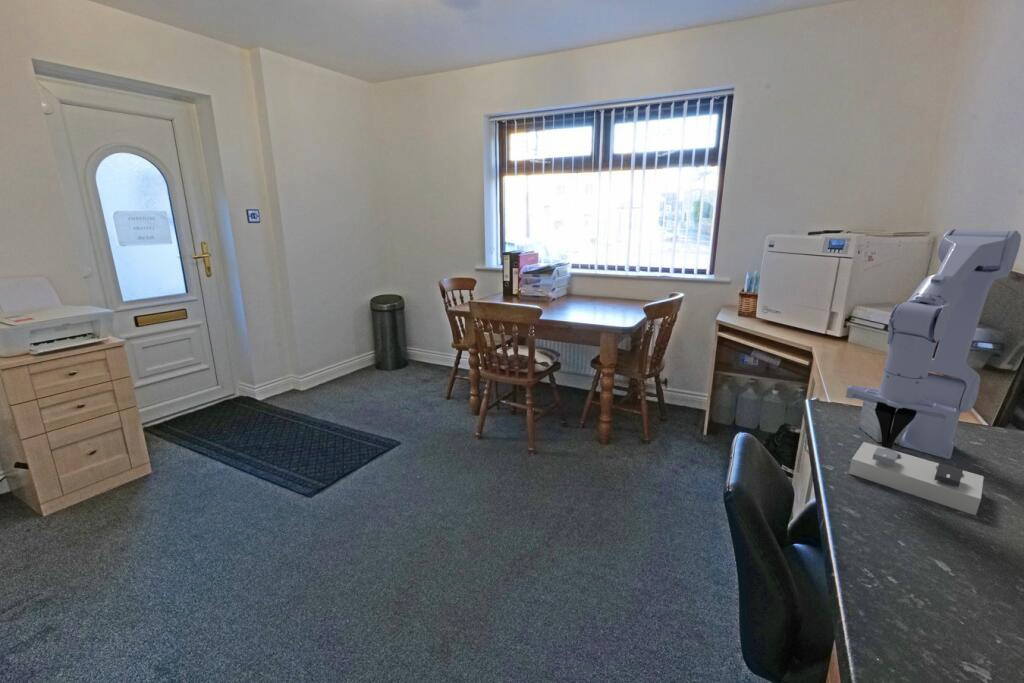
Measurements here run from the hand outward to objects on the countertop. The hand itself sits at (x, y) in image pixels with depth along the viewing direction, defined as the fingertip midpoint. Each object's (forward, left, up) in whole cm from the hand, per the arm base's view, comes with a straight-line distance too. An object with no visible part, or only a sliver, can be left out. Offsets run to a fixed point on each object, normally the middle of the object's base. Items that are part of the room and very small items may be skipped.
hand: (887, 445), depth 82 cm
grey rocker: (-1, 0, -3) cm, 3 cm away
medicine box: (-22, -4, -7) cm, 24 cm away
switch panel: (-3, +4, -7) cm, 9 cm away
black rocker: (-1, +8, -3) cm, 9 cm away
